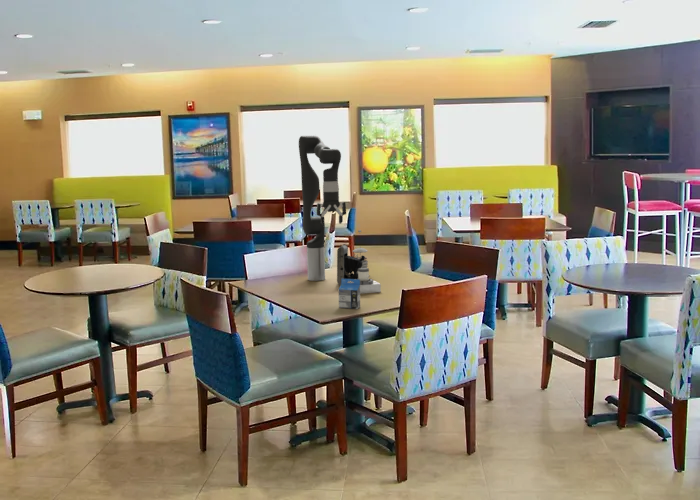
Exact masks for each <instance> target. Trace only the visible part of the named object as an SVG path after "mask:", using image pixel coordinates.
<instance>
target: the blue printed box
mask: <svg viewBox="0 0 700 500" xmlns="http://www.w3.org/2000/svg"><path fill="white" fill-rule="evenodd" d="M348 282H354V283H348ZM338 308H340V309H352V310H353V309H354V310H359V309H360V308H361V294H360V279H341V285H339V288H338Z"/></svg>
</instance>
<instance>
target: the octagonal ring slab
mask: <svg viewBox="0 0 700 500" xmlns="http://www.w3.org/2000/svg"><path fill="white" fill-rule="evenodd" d="M348 283H354V282H351V281H350V282H348ZM381 287H382V285H381V283H380V282H378V281H376V280H374V279H372V278H369V281H364V282H362V281H360V295H362V294H372V293H373V294H374V293H381Z"/></svg>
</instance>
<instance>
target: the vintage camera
mask: <svg viewBox="0 0 700 500" xmlns="http://www.w3.org/2000/svg"><path fill="white" fill-rule="evenodd" d="M336 251H337V254H336V257H337V258H336V259H337V260H336V282H337V283H336V284H338V286H341V279H358V274H357V272H358V269H359V268H361V267H362V263H363V262H362V260H364V259H365V257H366V256H365V255H360V256H361V258H360V259H358V258H356V257H357V256H356V257H355V256H354V255H352V256H351V255H348V254H349V253H348V252H349V248H348V245H347V244H345V243H343V244H342V245H339V247H338V248H337V250H336ZM353 256H354V257H353ZM365 260H366V259H365Z"/></svg>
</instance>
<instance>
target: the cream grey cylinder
mask: <svg viewBox="0 0 700 500" xmlns="http://www.w3.org/2000/svg"><path fill="white" fill-rule="evenodd" d="M357 272H358V279H360V281H362V282H364V281H369V279H370V278H369V277H370V276H369V274H370V273H369V272H370V269H369V268H368V267H367V268H359V269H358V271H357Z"/></svg>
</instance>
